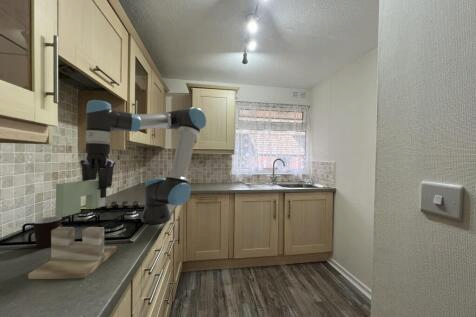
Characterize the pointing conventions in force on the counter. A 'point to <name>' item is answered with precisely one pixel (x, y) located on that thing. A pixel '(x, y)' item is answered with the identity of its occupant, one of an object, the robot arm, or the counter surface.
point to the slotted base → (70, 267)
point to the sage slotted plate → (75, 196)
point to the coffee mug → (45, 230)
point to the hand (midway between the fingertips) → (96, 205)
